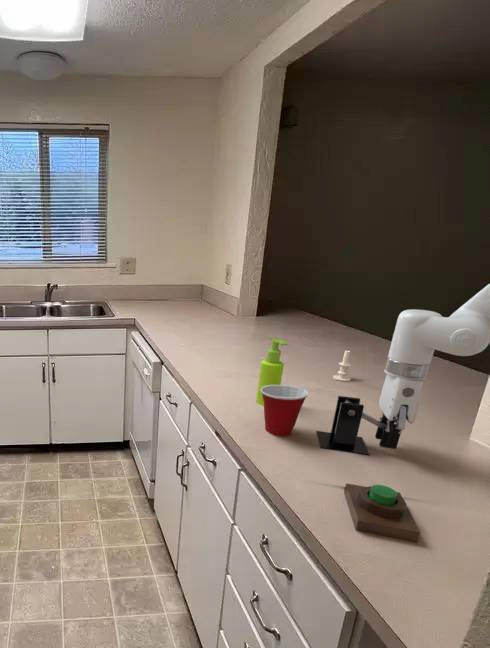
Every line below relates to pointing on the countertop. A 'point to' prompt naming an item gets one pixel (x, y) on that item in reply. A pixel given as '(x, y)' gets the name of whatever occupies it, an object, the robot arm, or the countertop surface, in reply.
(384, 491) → the light button
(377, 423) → the light lever
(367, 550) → the countertop surface
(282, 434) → the plastic cup
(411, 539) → the button block
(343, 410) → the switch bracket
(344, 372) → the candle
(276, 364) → the soap dispenser
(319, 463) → the countertop surface
